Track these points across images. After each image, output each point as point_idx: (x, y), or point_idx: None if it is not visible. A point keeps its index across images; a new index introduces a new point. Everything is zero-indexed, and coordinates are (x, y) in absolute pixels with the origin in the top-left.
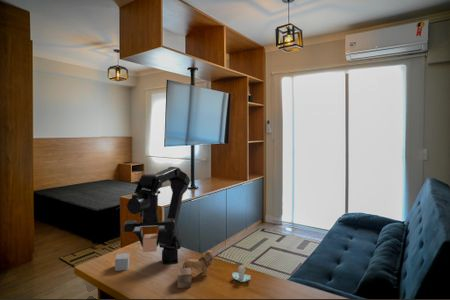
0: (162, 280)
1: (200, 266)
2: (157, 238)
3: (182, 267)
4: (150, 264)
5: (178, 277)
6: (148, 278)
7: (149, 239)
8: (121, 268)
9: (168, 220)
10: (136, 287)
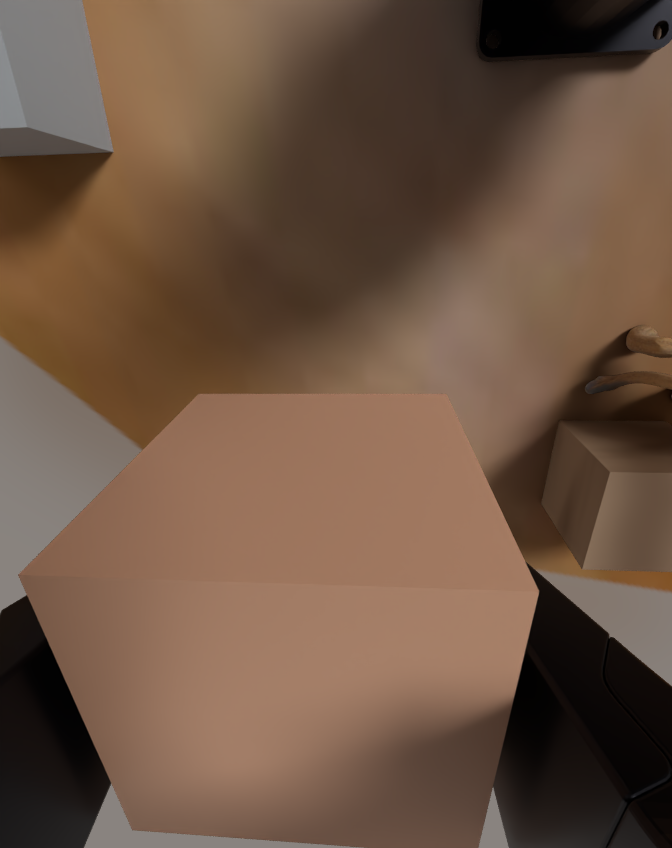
0: None
1: None
2: (502, 809)
3: (668, 385)
4: (327, 38)
5: (577, 556)
6: (334, 349)
7: (295, 819)
8: (42, 150)
9: None
10: None
